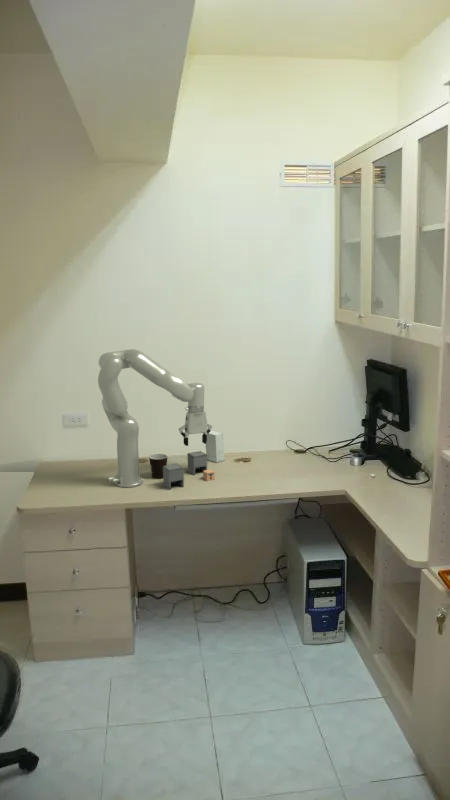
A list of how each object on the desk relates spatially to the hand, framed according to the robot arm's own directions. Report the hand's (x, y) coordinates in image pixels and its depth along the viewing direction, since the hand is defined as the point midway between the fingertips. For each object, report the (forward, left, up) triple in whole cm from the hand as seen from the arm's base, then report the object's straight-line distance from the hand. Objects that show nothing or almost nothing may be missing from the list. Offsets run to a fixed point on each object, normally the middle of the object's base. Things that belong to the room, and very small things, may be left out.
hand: (195, 444), depth 278 cm
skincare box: (+17, +12, -14) cm, 25 cm away
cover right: (+1, 0, -14) cm, 14 cm away
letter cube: (+1, -12, -14) cm, 19 cm away
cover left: (-17, -12, -14) cm, 25 cm away
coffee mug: (-17, +4, -14) cm, 23 cm away
